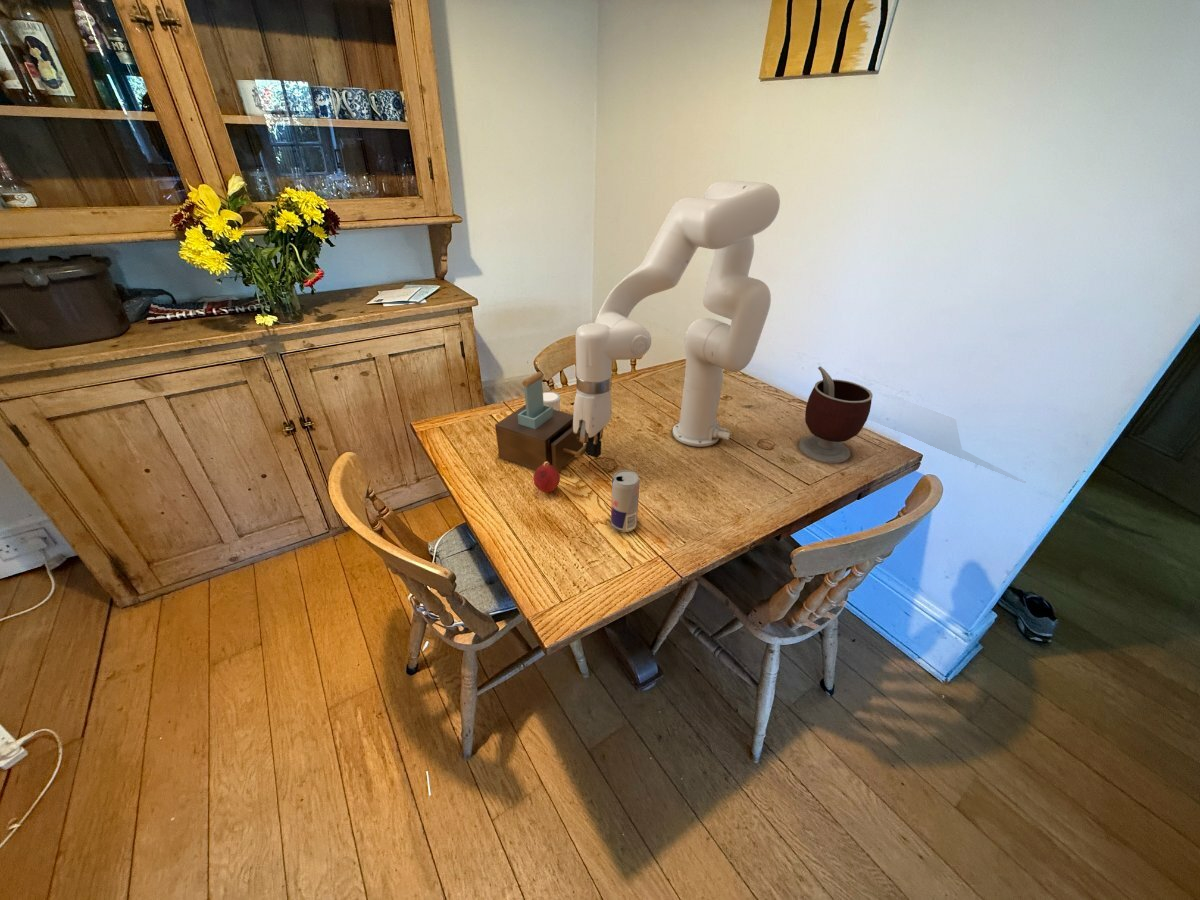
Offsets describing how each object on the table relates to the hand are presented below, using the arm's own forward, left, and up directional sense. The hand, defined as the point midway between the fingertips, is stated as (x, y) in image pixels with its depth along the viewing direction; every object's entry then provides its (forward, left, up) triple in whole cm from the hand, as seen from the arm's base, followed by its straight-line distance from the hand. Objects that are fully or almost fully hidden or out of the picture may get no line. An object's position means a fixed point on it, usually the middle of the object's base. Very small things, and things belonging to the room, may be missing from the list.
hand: (593, 454), depth 108 cm
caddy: (+16, 0, +5) cm, 17 cm away
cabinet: (+16, 0, -5) cm, 17 cm away
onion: (+5, +12, -5) cm, 14 cm away
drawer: (+11, 0, -4) cm, 11 cm away
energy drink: (-15, +13, -5) cm, 21 cm away
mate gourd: (-47, -39, -5) cm, 61 cm away
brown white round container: (+24, -17, -5) cm, 30 cm away
